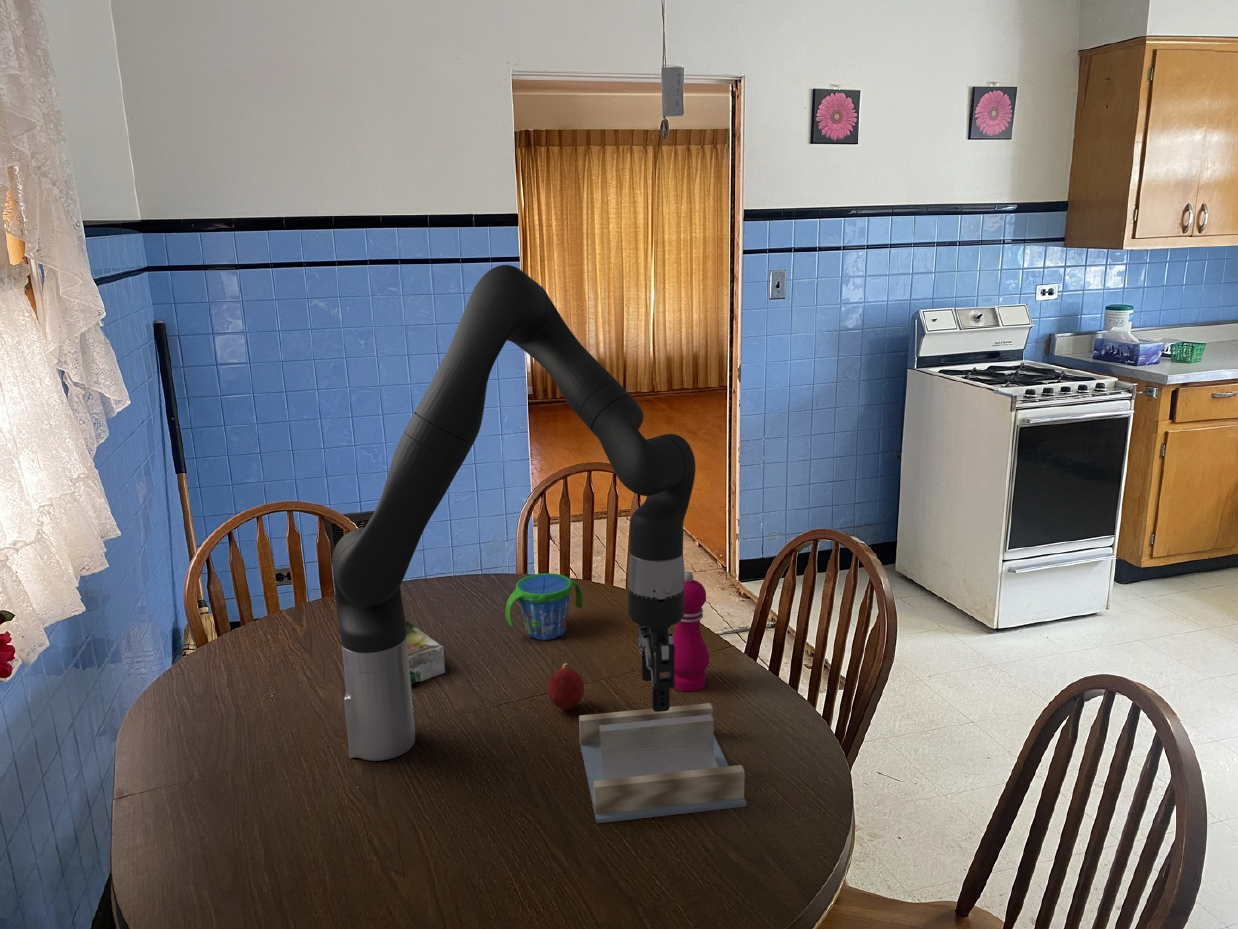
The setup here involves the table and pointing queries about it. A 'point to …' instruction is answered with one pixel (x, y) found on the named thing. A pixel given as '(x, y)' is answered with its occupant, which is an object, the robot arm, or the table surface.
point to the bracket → (656, 746)
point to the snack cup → (544, 604)
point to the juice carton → (423, 655)
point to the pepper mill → (690, 640)
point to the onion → (565, 688)
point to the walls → (659, 786)
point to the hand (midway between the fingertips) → (654, 694)
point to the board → (594, 773)
